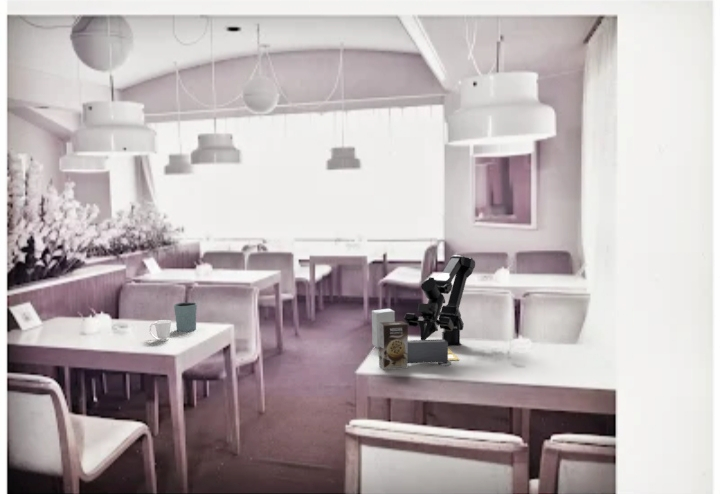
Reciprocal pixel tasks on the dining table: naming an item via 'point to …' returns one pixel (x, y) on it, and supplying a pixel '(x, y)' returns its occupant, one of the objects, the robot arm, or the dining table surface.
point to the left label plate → (452, 357)
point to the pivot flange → (444, 363)
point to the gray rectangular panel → (427, 351)
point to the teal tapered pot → (185, 316)
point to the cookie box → (393, 345)
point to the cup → (162, 329)
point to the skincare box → (378, 317)
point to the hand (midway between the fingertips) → (422, 340)
